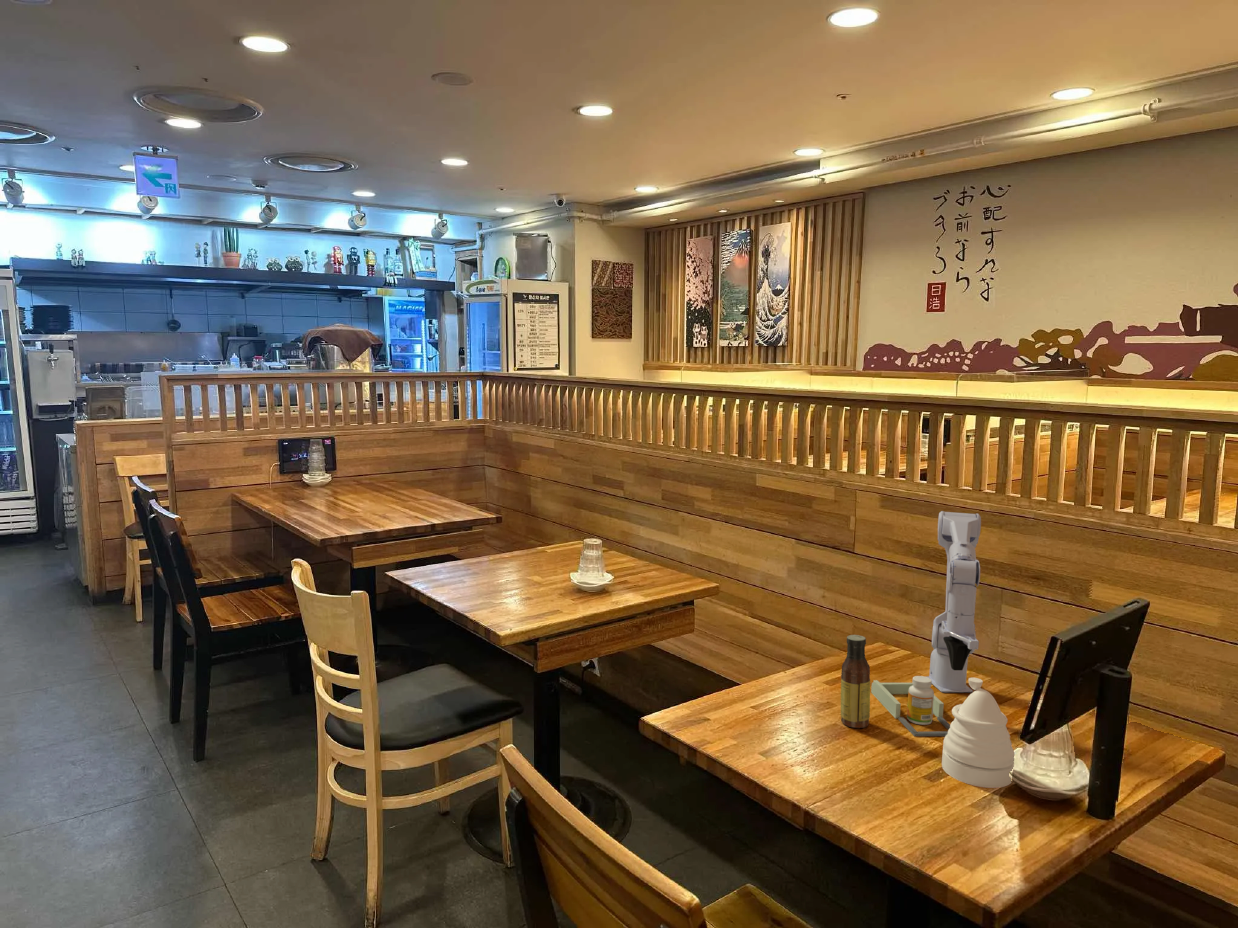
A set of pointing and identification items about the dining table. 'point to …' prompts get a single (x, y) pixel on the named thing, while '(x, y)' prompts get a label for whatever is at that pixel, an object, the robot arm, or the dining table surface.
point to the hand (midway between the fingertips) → (956, 669)
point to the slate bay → (926, 733)
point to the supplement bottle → (920, 701)
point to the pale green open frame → (891, 704)
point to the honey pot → (978, 742)
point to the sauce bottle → (855, 684)
